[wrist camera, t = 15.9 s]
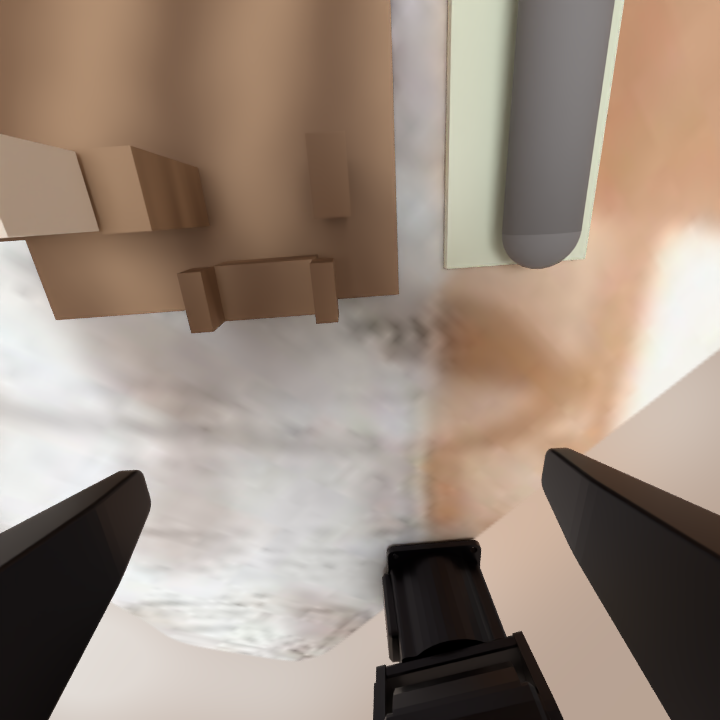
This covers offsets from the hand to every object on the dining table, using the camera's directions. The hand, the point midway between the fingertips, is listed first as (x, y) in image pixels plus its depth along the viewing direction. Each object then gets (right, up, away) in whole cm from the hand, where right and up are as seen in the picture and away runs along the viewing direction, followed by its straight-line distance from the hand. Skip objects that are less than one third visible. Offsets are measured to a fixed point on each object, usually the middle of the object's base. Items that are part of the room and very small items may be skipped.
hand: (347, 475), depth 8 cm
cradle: (-7, +13, +8) cm, 17 cm away
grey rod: (+8, +15, +6) cm, 18 cm away
